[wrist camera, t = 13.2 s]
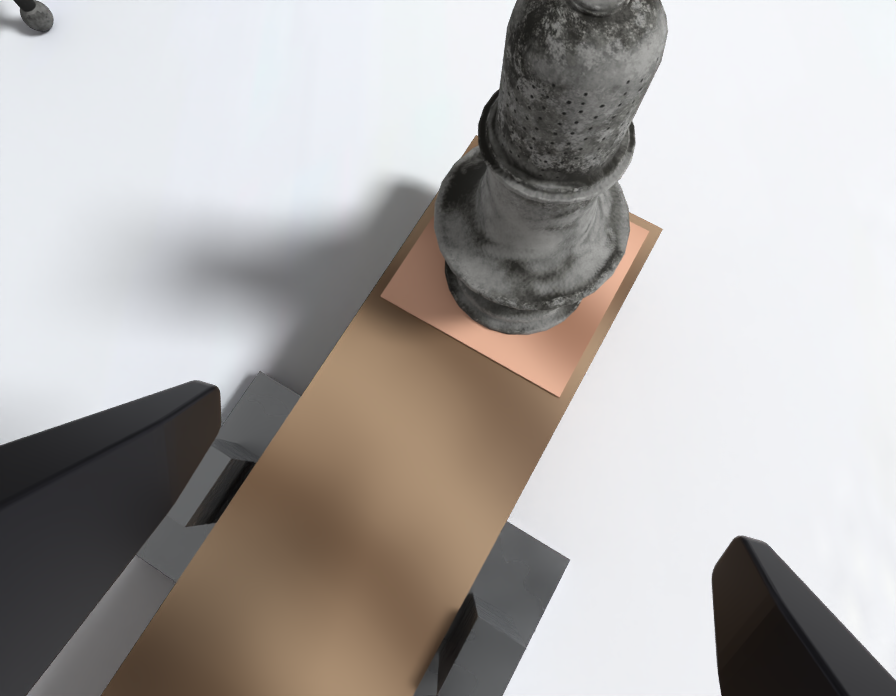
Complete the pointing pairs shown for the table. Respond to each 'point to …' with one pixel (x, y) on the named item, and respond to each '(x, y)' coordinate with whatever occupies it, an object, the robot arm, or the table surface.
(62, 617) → the robot arm
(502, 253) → the grey rounded piece
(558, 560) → the beam stand
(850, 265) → the table surface
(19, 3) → the microphone
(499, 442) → the beam
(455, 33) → the table surface
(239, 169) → the table surface
